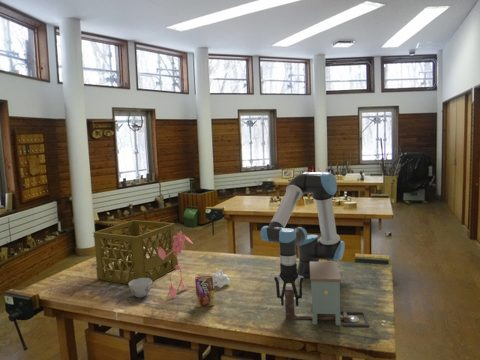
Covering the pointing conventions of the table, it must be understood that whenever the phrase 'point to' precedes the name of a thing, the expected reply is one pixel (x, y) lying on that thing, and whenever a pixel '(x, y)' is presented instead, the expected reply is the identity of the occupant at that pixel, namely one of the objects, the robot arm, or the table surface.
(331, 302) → the cabinet
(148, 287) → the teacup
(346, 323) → the rubber bay
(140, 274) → the milk crate
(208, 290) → the candy box
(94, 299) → the table surface
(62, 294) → the table surface
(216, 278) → the crumpled paper ball
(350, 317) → the steel disc
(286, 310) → the pusher stick
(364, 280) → the table surface
